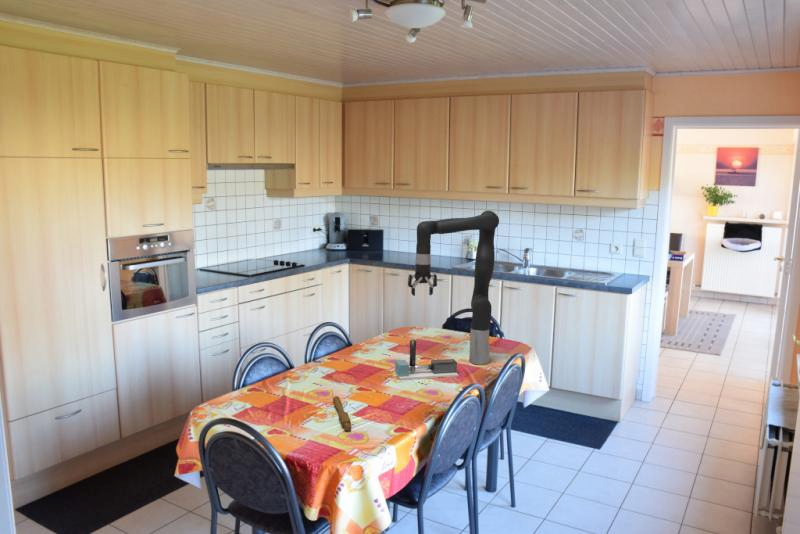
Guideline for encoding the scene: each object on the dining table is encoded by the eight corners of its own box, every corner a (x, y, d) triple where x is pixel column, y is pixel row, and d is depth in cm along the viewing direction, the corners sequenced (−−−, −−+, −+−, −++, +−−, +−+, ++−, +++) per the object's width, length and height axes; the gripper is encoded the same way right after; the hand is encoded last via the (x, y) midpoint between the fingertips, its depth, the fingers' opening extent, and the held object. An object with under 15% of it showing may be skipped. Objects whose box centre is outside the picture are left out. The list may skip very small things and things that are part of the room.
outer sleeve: (453, 369, 306) (453, 359, 305) (456, 372, 301) (457, 362, 300) (430, 370, 303) (431, 360, 303) (434, 373, 298) (434, 363, 298)
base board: (451, 369, 309) (451, 367, 309) (458, 376, 298) (458, 374, 298) (394, 372, 302) (394, 370, 302) (399, 380, 292) (399, 377, 292)
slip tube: (434, 369, 303) (436, 338, 300) (437, 371, 299) (438, 340, 297) (399, 371, 299) (400, 340, 296) (401, 373, 295) (402, 342, 293)
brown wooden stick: (339, 395, 264) (352, 424, 235) (339, 402, 264) (352, 432, 236) (332, 395, 263) (344, 425, 234) (332, 403, 264) (344, 433, 235)
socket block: (404, 370, 302) (404, 359, 301) (408, 376, 294) (408, 364, 293) (395, 371, 301) (395, 360, 300) (399, 376, 293) (399, 365, 292)
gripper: (410, 264, 309) (409, 297, 311) (439, 263, 312) (438, 296, 315) (407, 261, 316) (406, 294, 319) (434, 261, 319) (433, 293, 322)
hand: (422, 295), depth 317 cm, fingers open, 8 cm apart
